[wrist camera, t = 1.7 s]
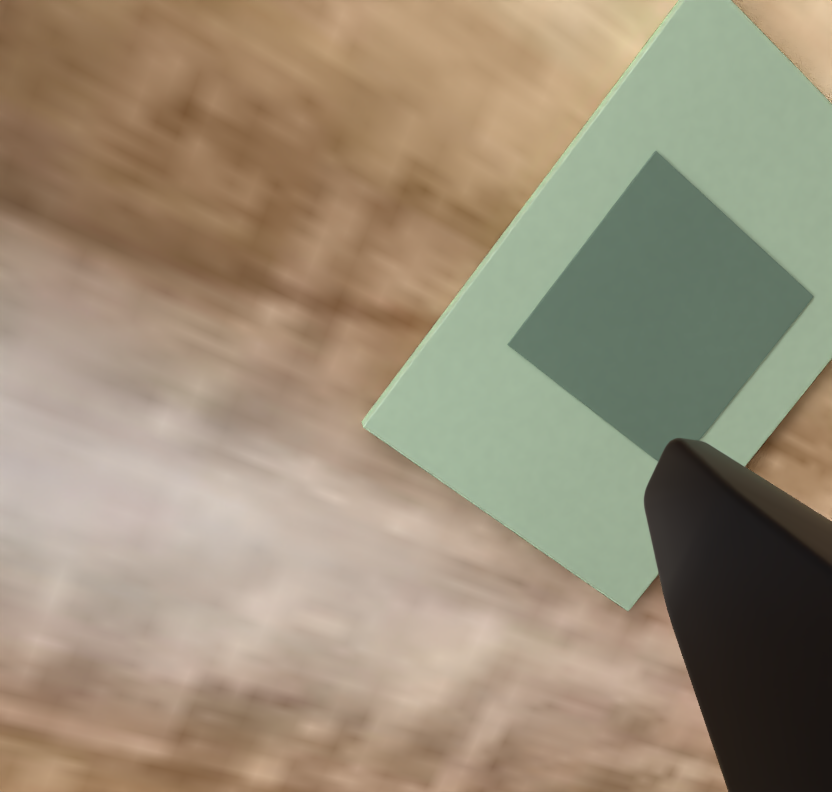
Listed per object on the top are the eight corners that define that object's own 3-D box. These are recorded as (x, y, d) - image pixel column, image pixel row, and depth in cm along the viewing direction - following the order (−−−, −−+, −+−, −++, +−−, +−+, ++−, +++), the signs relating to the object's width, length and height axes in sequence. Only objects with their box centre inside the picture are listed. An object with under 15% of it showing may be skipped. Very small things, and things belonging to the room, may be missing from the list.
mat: (621, 603, 27) (629, 613, 26) (360, 422, 24) (363, 428, 23) (929, 219, 25) (947, 219, 25) (694, -22, 23) (707, -29, 22)
